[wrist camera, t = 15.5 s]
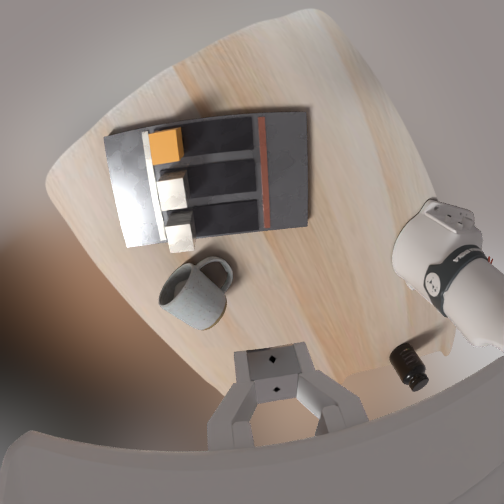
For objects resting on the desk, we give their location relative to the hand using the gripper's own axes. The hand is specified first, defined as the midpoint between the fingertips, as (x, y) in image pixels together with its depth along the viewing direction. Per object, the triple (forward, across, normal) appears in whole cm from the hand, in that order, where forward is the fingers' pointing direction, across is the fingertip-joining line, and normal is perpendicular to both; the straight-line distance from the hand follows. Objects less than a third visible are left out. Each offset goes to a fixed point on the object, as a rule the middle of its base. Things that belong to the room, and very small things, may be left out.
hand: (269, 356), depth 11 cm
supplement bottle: (+29, -38, +45) cm, 66 cm away
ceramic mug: (+29, +6, +15) cm, 34 cm away
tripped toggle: (+27, +7, -7) cm, 28 cm away
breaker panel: (+29, +3, -1) cm, 29 cm away
